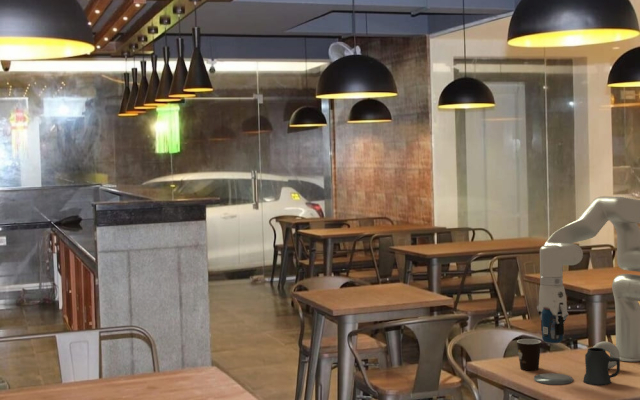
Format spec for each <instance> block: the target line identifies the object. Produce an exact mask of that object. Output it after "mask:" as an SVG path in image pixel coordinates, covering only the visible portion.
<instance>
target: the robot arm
mask: <svg viewBox="0 0 640 400" xmlns="http://www.w3.org/2000/svg"><path fill="white" fill-rule="evenodd" d="M609 221H610V223H611V224H612V225H613V228H614V229H615V231H616V262H617V263H616V264H617V266H618V268H620V269H621V270H624V271H629V272H639V273H640V226H639V224H640V199H635V198H629V197H623V196H598V197H595V198H594V199H593V200H592V201H591V203H590V204H589V205H588V206H587V207H586V209H584V211H582V213H581V214H580V215H579V217H578V218H577V219H576V220H573V222H570V223H568V224H566V225H564V226H563V227H561V228H559V229H557V230H555V231H554V232H553V233H552V234H551V235H550V237H549V238H548V239H547V240H546V241H545V243H543V245H542V246H541V247H540V248H539V285H540V286H539V290H538V304H537V305H536V309H537V310H536V311H537V312H538V315H539V319H540V326H541V328H540V329H541V330H540V331H541V332H542V310H543V307H544V308H547V309H550V311H551V313H552V315H554V316H555V320H556V324H555V335H563V336H564V333H565V328H564V325H565V322H566V320H567V318H568V316H569V312H568V304H567V296H566V295H567V294H566V290H565V286H564V280H563V278H564V275H563V273H564V272H563V268H564V267H563V266H574V265H575V266H576V265H578V264H579V263H581V261H582V259H583V257H584V252H583V249H582V247H581V246H580V245H578V244H577V243H578V242H582V241H587V240H590V239H592V238H594V237H596V236H597V235H598V234H599V233H600V231H601V230H602V229H603V227H604V226H605V225H606V224H607V222H609ZM575 243H576V244H575ZM611 288H612V294H613V297H614V306H615V311H614V312H615V346H616V347H617V349H618V350H619V353H620V362H631V363H633V362H635V363H636V362H640V303H639V302H640V275H639V274H631V273H621V274H618V275H616V276H615V277H614V279H613V280H612V284H611ZM558 312H560V314H558ZM558 316H560V318H559V319H558Z"/></svg>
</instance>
